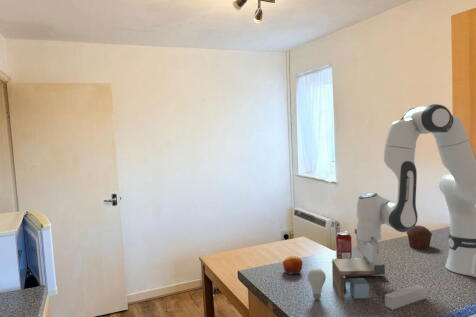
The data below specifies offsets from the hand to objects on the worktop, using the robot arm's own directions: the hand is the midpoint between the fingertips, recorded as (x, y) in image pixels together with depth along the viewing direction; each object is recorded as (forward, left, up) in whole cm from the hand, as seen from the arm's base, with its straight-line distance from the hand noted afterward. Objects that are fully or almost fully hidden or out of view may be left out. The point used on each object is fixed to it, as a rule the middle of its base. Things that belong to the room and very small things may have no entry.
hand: (369, 268), depth 143 cm
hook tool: (+4, +5, -2) cm, 7 cm away
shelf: (+11, +14, -3) cm, 18 cm away
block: (+9, +16, -3) cm, 19 cm away
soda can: (+5, -21, -3) cm, 21 cm away
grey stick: (-4, +22, -3) cm, 23 cm away
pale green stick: (-2, -12, -4) cm, 12 cm away
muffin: (-36, -36, -3) cm, 51 cm away
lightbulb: (+25, +19, -3) cm, 31 cm away
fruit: (+30, -6, -3) cm, 30 cm away
